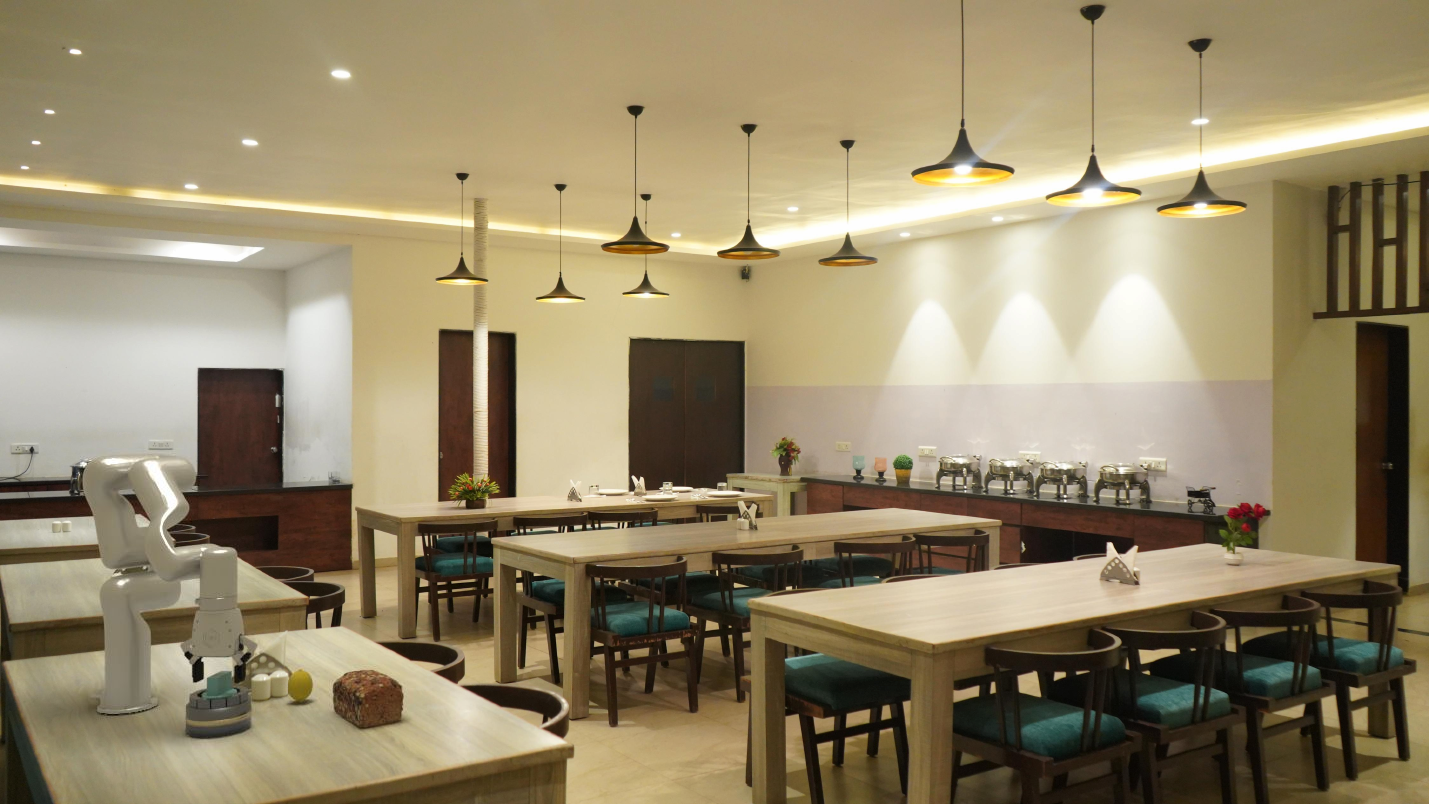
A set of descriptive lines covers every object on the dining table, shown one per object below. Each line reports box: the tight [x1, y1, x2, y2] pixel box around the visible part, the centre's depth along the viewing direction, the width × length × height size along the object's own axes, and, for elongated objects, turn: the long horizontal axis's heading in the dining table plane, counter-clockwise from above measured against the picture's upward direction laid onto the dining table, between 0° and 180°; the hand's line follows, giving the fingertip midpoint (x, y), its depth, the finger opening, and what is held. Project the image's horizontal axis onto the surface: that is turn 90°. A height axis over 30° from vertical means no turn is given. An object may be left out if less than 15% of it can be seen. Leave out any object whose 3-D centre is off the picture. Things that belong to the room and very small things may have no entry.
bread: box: [332, 669, 404, 728], centre depth 236 cm, size 19×11×10 cm, turn 37°
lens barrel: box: [185, 685, 253, 739], centre depth 227 cm, size 13×13×8 cm
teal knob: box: [202, 670, 237, 698], centre depth 227 cm, size 7×7×6 cm
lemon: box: [287, 668, 314, 704], centre depth 247 cm, size 6×6×8 cm
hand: (219, 681), depth 227 cm, fingers open, 9 cm apart
